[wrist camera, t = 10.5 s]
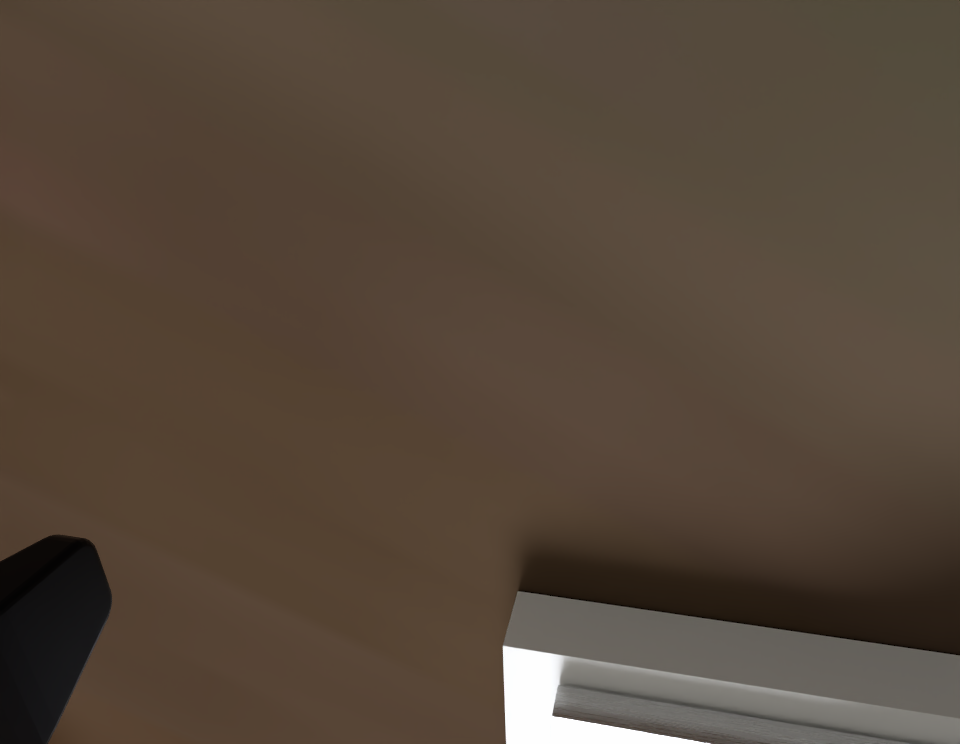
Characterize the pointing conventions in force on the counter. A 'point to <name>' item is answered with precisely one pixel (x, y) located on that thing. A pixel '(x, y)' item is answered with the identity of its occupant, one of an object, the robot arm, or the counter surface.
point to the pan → (673, 724)
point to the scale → (722, 671)
